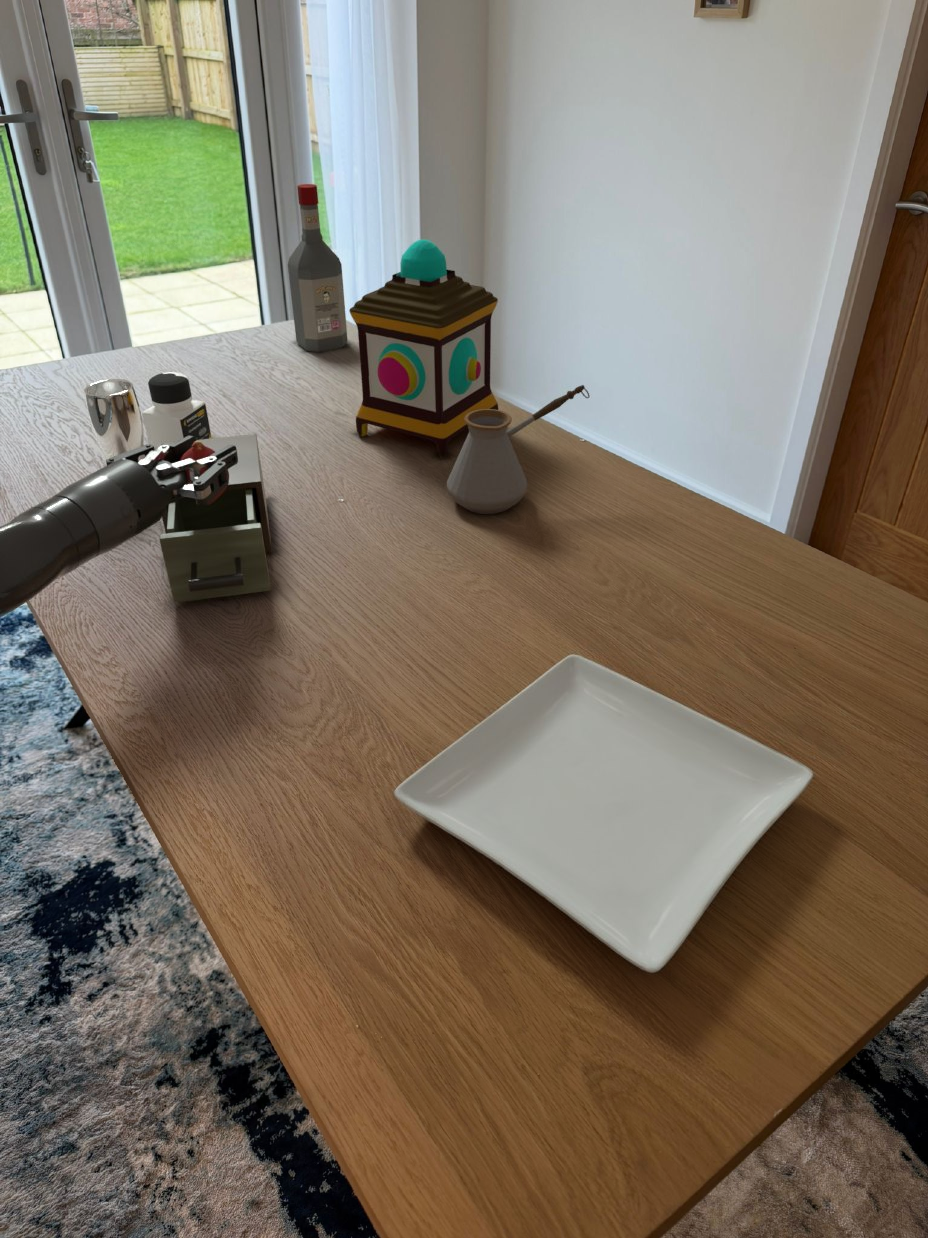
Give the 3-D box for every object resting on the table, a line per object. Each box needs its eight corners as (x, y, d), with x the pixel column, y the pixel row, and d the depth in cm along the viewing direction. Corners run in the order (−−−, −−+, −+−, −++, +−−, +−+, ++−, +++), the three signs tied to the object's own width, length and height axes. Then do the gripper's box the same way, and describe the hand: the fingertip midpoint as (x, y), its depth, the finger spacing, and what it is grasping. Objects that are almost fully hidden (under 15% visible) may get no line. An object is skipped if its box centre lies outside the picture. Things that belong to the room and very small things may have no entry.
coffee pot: (467, 528, 122) (467, 425, 114) (434, 493, 131) (431, 395, 122) (600, 497, 130) (610, 398, 121) (560, 465, 138) (567, 371, 129)
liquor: (351, 347, 183) (339, 187, 165) (310, 355, 179) (292, 192, 162) (334, 335, 189) (320, 179, 172) (293, 342, 186) (275, 184, 168)
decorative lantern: (446, 465, 138) (442, 263, 121) (344, 438, 147) (327, 245, 129) (509, 421, 152) (514, 233, 135) (413, 398, 161) (406, 218, 143)
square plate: (810, 797, 82) (819, 767, 80) (648, 1006, 65) (655, 975, 63) (570, 673, 97) (573, 645, 94) (389, 818, 80) (387, 787, 78)
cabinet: (272, 554, 117) (261, 481, 111) (173, 566, 115) (156, 492, 109) (266, 502, 129) (256, 433, 123) (176, 512, 126) (161, 443, 120)
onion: (180, 496, 107) (168, 434, 103) (229, 489, 109) (218, 427, 104) (186, 518, 103) (173, 453, 98) (236, 510, 104) (226, 446, 100)
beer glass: (98, 491, 132) (72, 394, 123) (123, 471, 137) (100, 376, 128) (141, 496, 130) (117, 398, 122) (165, 476, 136) (143, 380, 127)
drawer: (273, 614, 104) (263, 550, 99) (172, 628, 102) (157, 562, 97) (265, 535, 119) (256, 476, 114) (177, 546, 117) (163, 485, 112)
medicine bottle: (189, 460, 140) (174, 387, 133) (150, 454, 142) (133, 381, 135) (213, 442, 146) (200, 370, 139) (175, 436, 147) (161, 365, 140)
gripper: (65, 525, 97) (173, 465, 109) (166, 556, 91) (268, 489, 104) (46, 461, 92) (161, 406, 105) (152, 490, 87) (260, 428, 99)
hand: (214, 448), depth 104 cm, fingers closed on onion, 5 cm apart
